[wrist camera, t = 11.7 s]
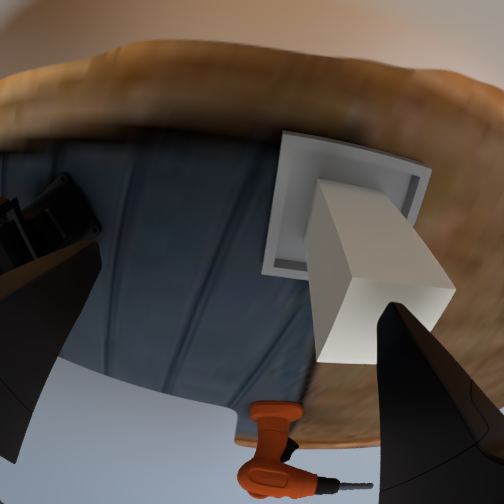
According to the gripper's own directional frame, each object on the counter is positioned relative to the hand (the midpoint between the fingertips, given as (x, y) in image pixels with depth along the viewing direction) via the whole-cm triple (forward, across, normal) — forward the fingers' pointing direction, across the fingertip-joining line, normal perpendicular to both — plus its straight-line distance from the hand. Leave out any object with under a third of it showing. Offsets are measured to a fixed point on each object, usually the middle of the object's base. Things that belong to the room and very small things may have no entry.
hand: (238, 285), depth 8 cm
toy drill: (+14, -12, +32) cm, 37 cm away
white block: (+13, -6, +3) cm, 14 cm away
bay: (+13, -6, +3) cm, 15 cm away
